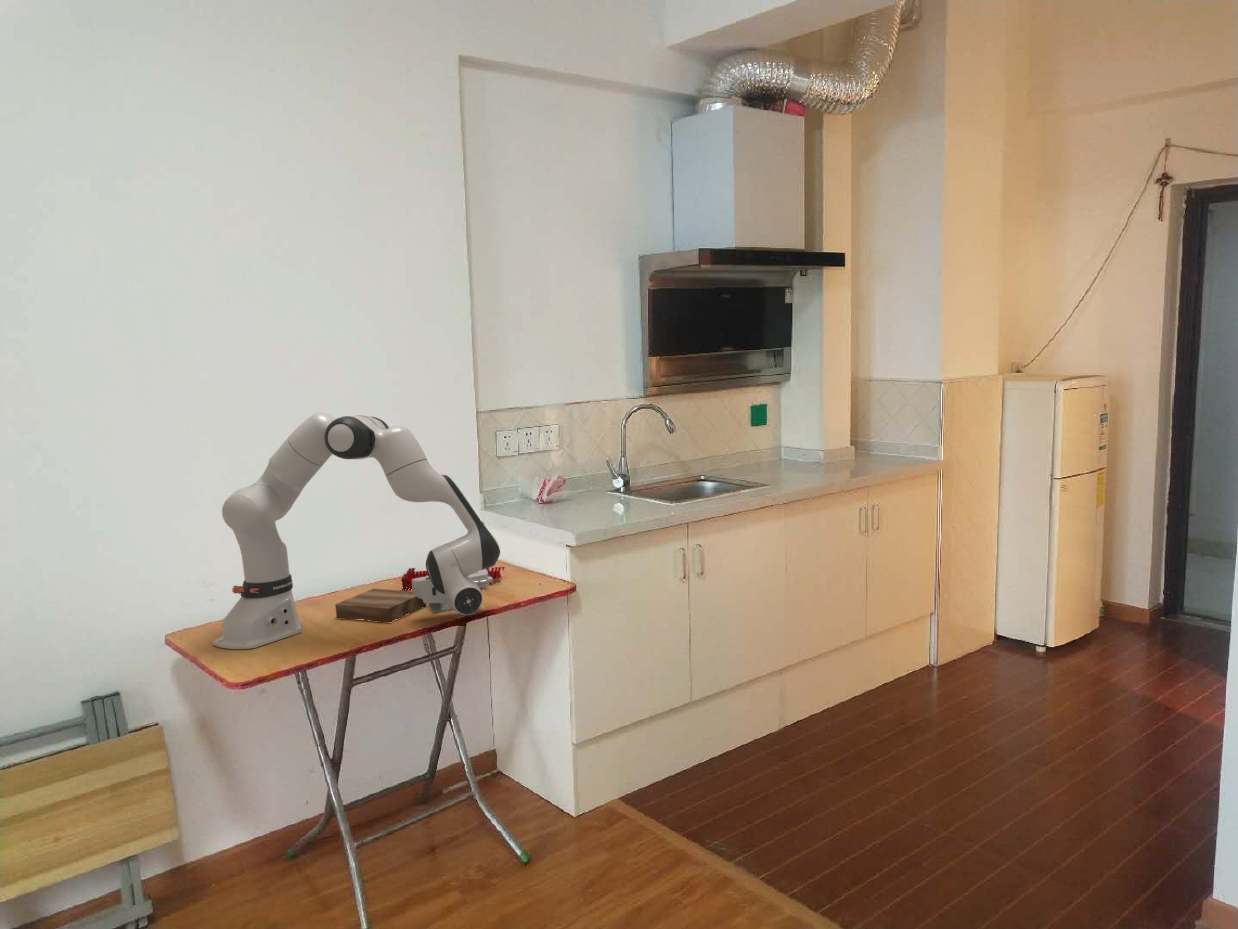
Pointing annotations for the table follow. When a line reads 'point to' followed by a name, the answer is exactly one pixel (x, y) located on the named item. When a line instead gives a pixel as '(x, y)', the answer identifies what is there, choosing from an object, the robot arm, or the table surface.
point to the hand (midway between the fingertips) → (445, 575)
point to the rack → (438, 607)
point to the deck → (379, 605)
